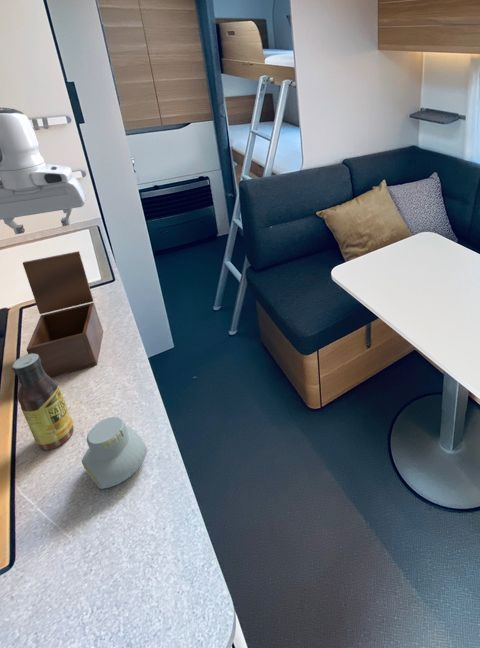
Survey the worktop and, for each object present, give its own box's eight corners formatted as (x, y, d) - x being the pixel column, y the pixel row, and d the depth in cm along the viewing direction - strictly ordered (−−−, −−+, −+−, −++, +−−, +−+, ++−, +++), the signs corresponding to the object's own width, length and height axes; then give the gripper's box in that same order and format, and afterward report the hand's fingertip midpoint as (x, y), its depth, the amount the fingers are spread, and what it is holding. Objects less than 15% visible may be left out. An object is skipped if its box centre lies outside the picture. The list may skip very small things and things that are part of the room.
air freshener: (82, 468, 78) (66, 431, 74) (126, 435, 84) (114, 399, 80) (110, 503, 72) (94, 465, 68) (155, 464, 78) (143, 427, 74)
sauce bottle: (69, 446, 82) (36, 371, 74) (32, 455, 80) (-6, 379, 73) (80, 419, 88) (51, 346, 80) (46, 426, 86) (13, 353, 78)
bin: (97, 364, 102) (85, 333, 98) (40, 381, 97) (26, 349, 94) (103, 331, 113) (93, 302, 109) (52, 345, 109) (40, 315, 105)
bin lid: (78, 252, 105) (82, 245, 109) (22, 263, 100) (28, 255, 105) (93, 301, 109) (96, 293, 113) (39, 314, 104) (45, 305, 109)
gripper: (-38, 188, 90) (-14, 243, 95) (73, 173, 98) (89, 225, 103) (-27, 179, 95) (-5, 232, 100) (78, 166, 103) (93, 216, 108)
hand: (44, 229), depth 102 cm, fingers open, 8 cm apart
